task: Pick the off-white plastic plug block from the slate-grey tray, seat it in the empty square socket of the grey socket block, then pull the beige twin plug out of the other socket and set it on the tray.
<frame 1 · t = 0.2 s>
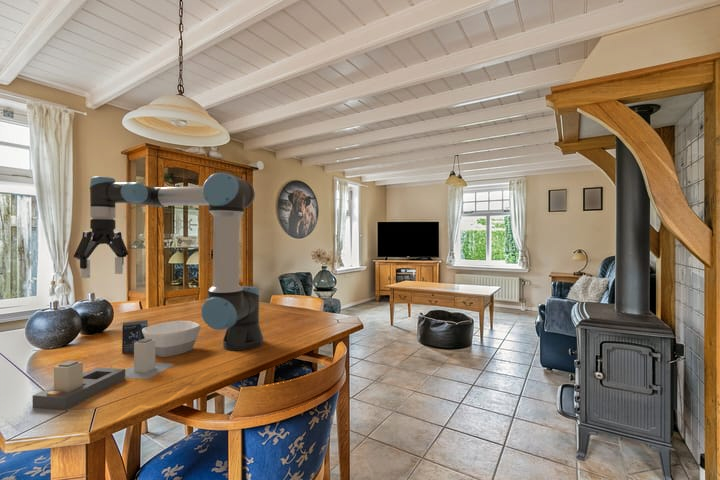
hand: (103, 275, 127), 28 cm above the table, fingers open, 13 cm apart
bowl: (171, 352, 125), on the table
twin plug: (68, 399, 88), resting on grey socket block
grey socket block: (83, 393, 92), on the table
tray: (144, 371, 107), on the table
box: (135, 351, 126), on the table
plug: (144, 369, 107), point 1 cm above the table, touching tray
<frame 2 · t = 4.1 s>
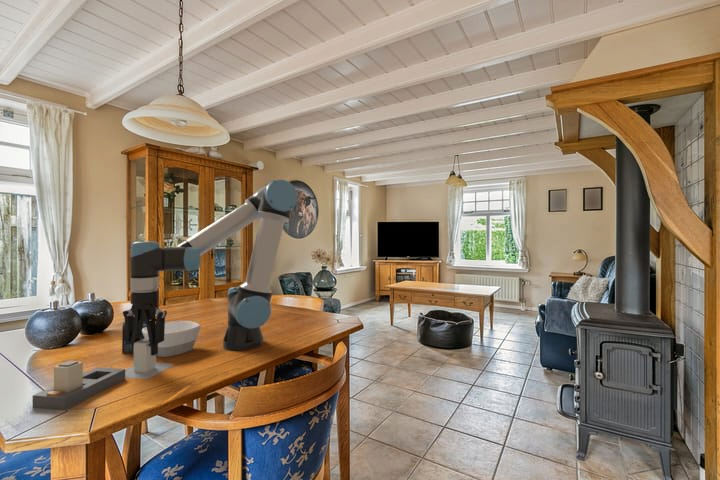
hand: (144, 364, 107), 2 cm above the table, fingers closed on plug, 4 cm apart
plug: (144, 369, 107), point 1 cm above the table, touching gripper, tray
everything else where it was.
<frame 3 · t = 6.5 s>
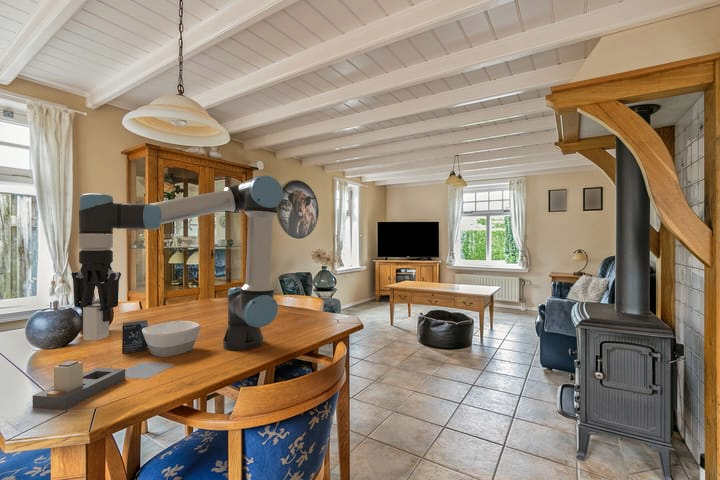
hand: (96, 332, 95), 16 cm above the table, fingers closed on plug, 4 cm apart
plug: (96, 338, 95), point 14 cm above the table, touching gripper
everything else where it was.
when the fingers open (4 cm above the table, at t = 9.1 s): plug drops 2 cm, resting on grey socket block.
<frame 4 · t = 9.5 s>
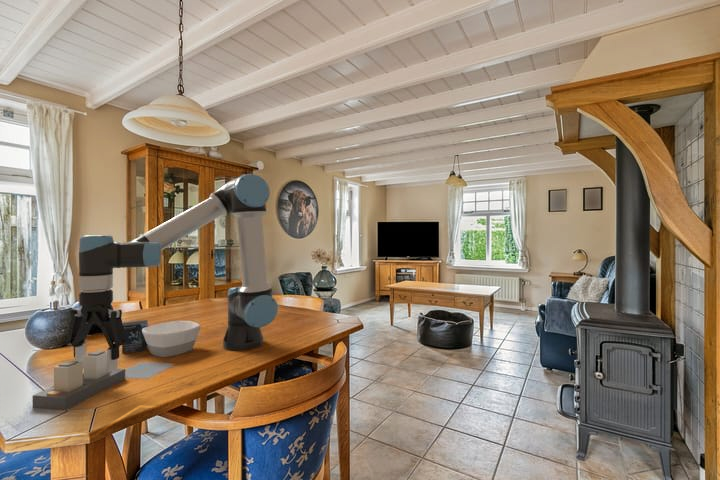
hand: (96, 369, 96), 5 cm above the table, fingers open, 9 cm apart
plug: (96, 385, 96), resting on grey socket block
everything else where it was.
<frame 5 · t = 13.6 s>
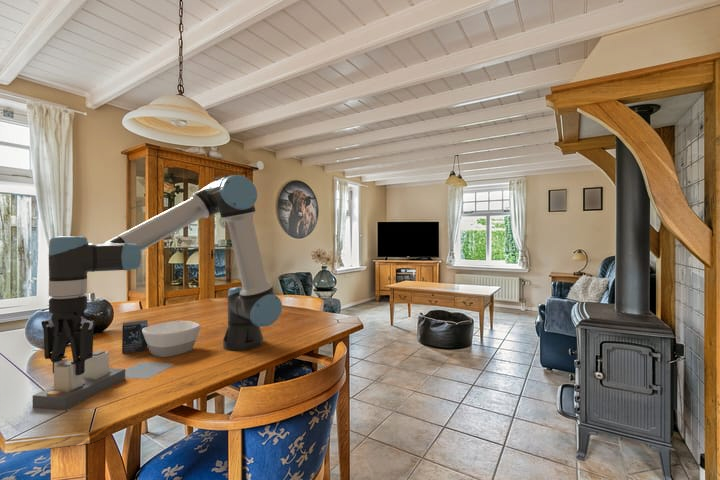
hand: (68, 386, 88), 4 cm above the table, fingers closed on twin plug, 4 cm apart
twin plug: (68, 399, 88), point 1 cm above the table, touching gripper, grey socket block
everything else where it was.
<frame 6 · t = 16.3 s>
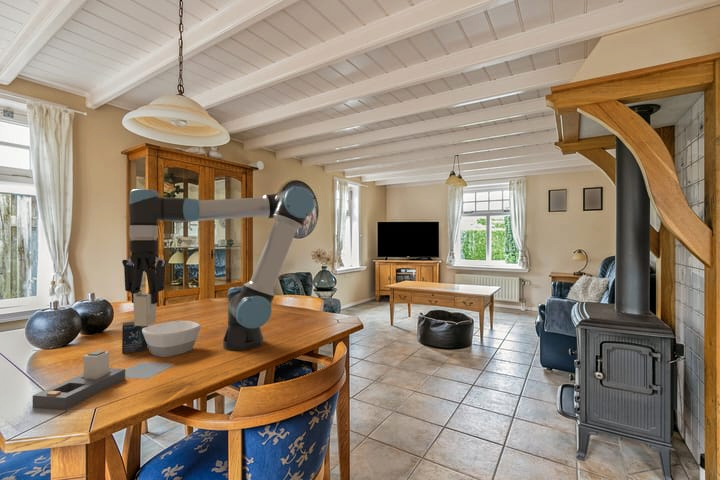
hand: (144, 313, 107), 18 cm above the table, fingers closed on twin plug, 4 cm apart
twin plug: (145, 324, 107), point 15 cm above the table, touching gripper
everything else where it was.
when the fingers open (5 cm above the table, at t = 19.1 s): twin plug drops 1 cm, resting on tray.
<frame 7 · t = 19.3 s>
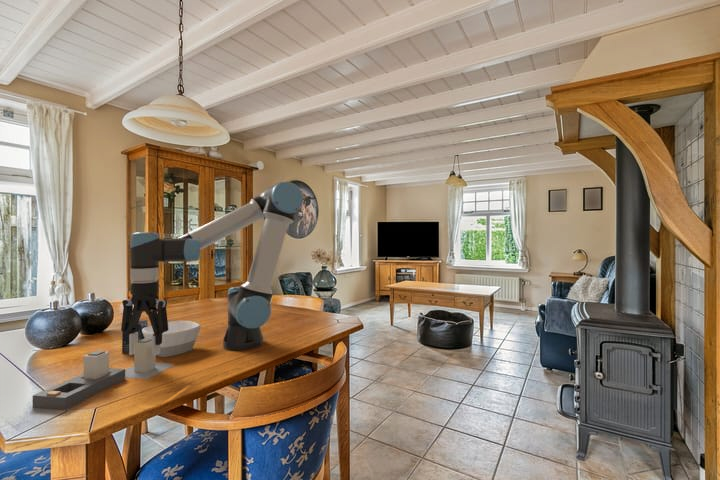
hand: (144, 354, 107), 6 cm above the table, fingers open, 7 cm apart
twin plug: (145, 369, 107), point 1 cm above the table, touching tray
everything else where it was.
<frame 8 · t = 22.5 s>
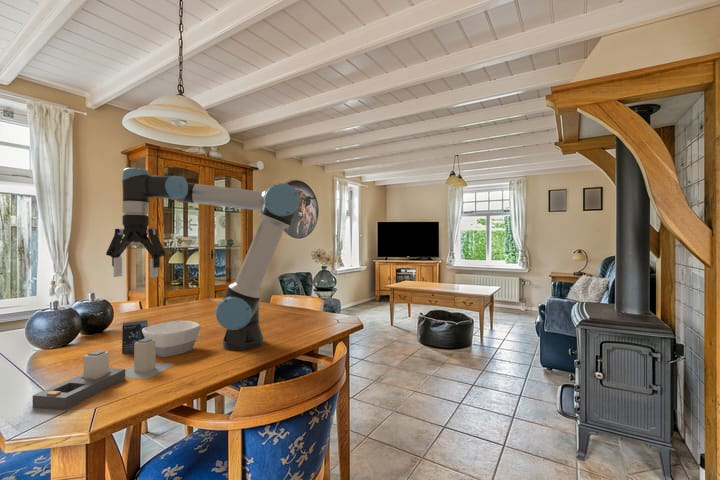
hand: (135, 277, 116), 29 cm above the table, fingers open, 13 cm apart
nothing on the table moved.
at the end: plug 0.0 cm from the target spot on the grey socket block, point 0.5 cm above the grey socket block's base; plug tilted 0°; twin plug inside the target area on the tray (0.1 cm from its centre), point 0.6 cm above the tray's base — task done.
